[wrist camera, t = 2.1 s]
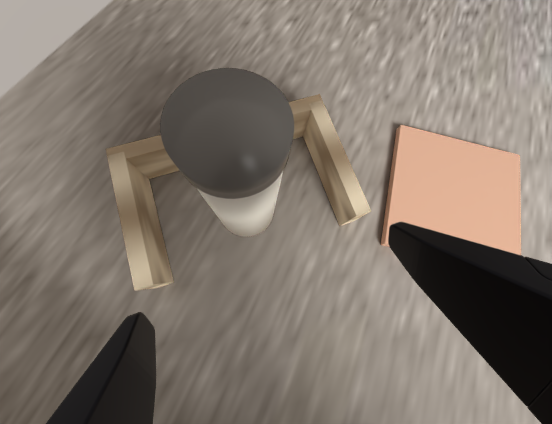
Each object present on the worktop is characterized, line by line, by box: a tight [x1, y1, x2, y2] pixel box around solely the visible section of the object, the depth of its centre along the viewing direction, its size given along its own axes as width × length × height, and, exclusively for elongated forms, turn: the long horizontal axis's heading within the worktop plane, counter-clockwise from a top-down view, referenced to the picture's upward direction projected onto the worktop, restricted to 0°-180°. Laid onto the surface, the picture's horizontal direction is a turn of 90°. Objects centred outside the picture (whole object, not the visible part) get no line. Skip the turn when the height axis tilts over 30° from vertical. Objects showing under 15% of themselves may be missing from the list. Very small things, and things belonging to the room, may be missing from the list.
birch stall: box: [106, 94, 371, 291], centre depth 20 cm, size 11×17×4 cm, turn 109°
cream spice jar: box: [160, 68, 294, 237], centre depth 16 cm, size 5×5×13 cm
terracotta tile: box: [381, 125, 521, 255], centre depth 23 cm, size 12×12×1 cm
